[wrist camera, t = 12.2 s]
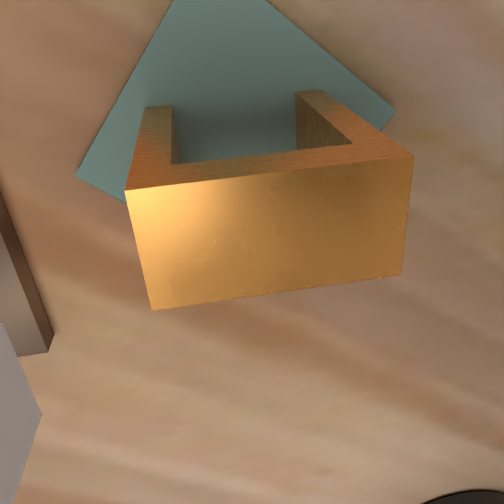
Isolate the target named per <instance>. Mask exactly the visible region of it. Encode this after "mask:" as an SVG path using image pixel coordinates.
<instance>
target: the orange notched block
mask: <svg viewBox="0 0 504 504" xmlns="http://www.w3.org/2000/svg"><path fill="white" fill-rule="evenodd" d="M295 109H296V150H294V151H286V152H277V153H269V154H260V155H252V156H243V157H235V158H226V159H218V160H209V161H201V162H192V163H184V164H181V161H180V154H179V148H178V141H177V135H176V129H175V122H174V116H173V110H172V105H165V106H156V107H146V108H144V112H143V116H142V120H141V124H140V128H139V132H138V137H137V141H136V145H135V149H134V153H133V157H132V161H131V165H130V169H129V173H128V178H127V182H126V186H125V190H124V192H125V196H126V200H127V205H128V209H129V213H130V218H131V222H132V227H133V231H134V235H135V240H136V244H137V248H138V253H139V257H140V261H141V266H142V270H143V274H144V279H145V283H146V288H147V292H148V296H149V301H150V305H151V309H152V311H155V310H161V309H168V308H175V307H182V306H189V305H196V304H203V303H210V302H217V301H224V300H231V299H238V298H244V297H251V296H258V295H265V294H272V293H279V292H286V291H293V290H300V289H307V288H314V287H320V286H327V285H334V284H341V283H348V282H355V281H362V280H369V279H376V278H383V277H390V276H396V275H401V269H402V260H403V251H404V242H405V233H406V224H407V215H408V206H409V197H410V188H411V179H412V170H413V161H414V155H413V154H411V153H410V152H408V151H407V150H406V149H404V148H403V147H401V146H400V145H399V144H397V143H396V142H394V141H393V140H392V139H390V138H389V137H387V136H386V135H385V134H383V133H382V132H380V131H379V130H378V129H376V128H375V127H373V126H372V125H371V124H369V123H368V122H366V121H365V120H364V119H362V118H361V117H359V116H358V115H357V114H355V113H354V112H352V111H351V110H350V109H348V108H347V107H345V106H344V105H343V104H341V103H340V102H338V101H337V100H336V99H334V98H333V97H331V96H330V95H329V94H327V93H326V92H324V91H323V90H322V89H316V90H306V91H297V92H295Z"/></svg>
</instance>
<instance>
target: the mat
mask: <svg viewBox="0 0 504 504" xmlns="http://www.w3.org/2000/svg"><path fill="white" fill-rule="evenodd" d="M316 89H322V90H323V91H324V92H326V93H327V94H329V95H330V96H331V97H333V98H334V99H336V100H337V101H338V102H340V103H341V104H343V105H344V106H345V107H347V108H348V109H350V110H351V111H352V112H354V113H355V114H357V115H358V116H359V117H361V118H362V119H364V120H365V121H366V122H368V123H369V124H371V125H372V126H373V127H375V128H376V129H378V130H379V131H380V130H381V129H382V128H383V127H384V125H385V124H386V123H387V122H388V121H389V119H390V118H391V117H392V116H393V114H394V113H395V112H396V111H397V110H396V109H394V108H393V107H392V106H391V105H390V104H389V103H387V102H386V101H385V100H384V99H383V98H381V97H380V96H379V95H378V94H377V93H375V92H374V91H373V90H372V89H371V88H369V87H368V86H367V85H366V84H365V83H363V82H362V81H361V80H360V79H359V78H358V77H356V76H355V75H354V74H353V73H352V72H350V71H349V70H348V69H347V68H346V67H344V66H343V65H342V64H341V63H340V62H338V61H337V60H336V59H335V58H334V57H333V56H331V55H330V54H329V53H328V52H327V51H325V50H324V49H323V48H322V47H321V46H319V45H318V44H317V43H316V42H315V41H313V40H312V39H311V38H310V37H309V36H308V35H306V34H305V33H304V32H303V31H302V30H300V29H299V28H298V27H297V26H296V25H294V24H293V23H292V22H291V21H290V20H288V19H287V18H286V17H285V16H284V15H282V14H281V13H280V12H279V11H278V10H277V9H275V8H274V7H273V6H272V5H271V4H269V3H268V2H267V1H266V0H173V2H172V3H171V5H170V7H169V9H168V10H167V12H166V14H165V16H164V18H163V19H162V21H161V23H160V25H159V26H158V28H157V30H156V32H155V33H154V35H153V37H152V39H151V41H150V42H149V44H148V46H147V48H146V49H145V51H144V53H143V55H142V56H141V58H140V60H139V62H138V64H137V65H136V67H135V69H134V71H133V72H132V74H131V76H130V78H129V79H128V81H127V83H126V85H125V87H124V88H123V90H122V92H121V94H120V95H119V97H118V99H117V101H116V103H115V104H114V106H113V108H112V110H111V111H110V113H109V115H108V117H107V118H106V120H105V122H104V124H103V126H102V127H101V129H100V131H99V133H98V134H97V136H96V138H95V140H94V141H93V143H92V145H91V147H90V149H89V150H88V152H87V154H86V156H85V157H84V159H83V161H82V163H81V164H80V166H79V168H78V170H77V172H76V174H75V176H76V177H78V178H79V179H81V180H83V181H85V182H87V183H89V184H91V185H92V186H94V187H96V188H98V189H100V190H102V191H104V192H105V193H107V194H109V195H111V196H113V197H115V198H117V199H118V200H120V201H122V202H124V203H126V204H127V200H126V196H125V192H124V190H125V186H126V182H127V178H128V173H129V169H130V165H131V161H132V157H133V153H134V149H135V145H136V141H137V137H138V132H139V128H140V124H141V120H142V116H143V112H144V108H146V107H156V106H165V105H172V110H173V116H174V122H175V129H176V135H177V141H178V148H179V154H180V161H181V164H184V163H192V162H201V161H209V160H218V159H226V158H235V157H243V156H252V155H260V154H269V153H277V152H286V151H294V150H296V109H295V92H297V91H306V90H316Z"/></svg>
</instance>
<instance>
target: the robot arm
mask: <svg viewBox="0 0 504 504" xmlns="http://www.w3.org/2000/svg"><path fill="white" fill-rule="evenodd" d="M41 415H42V414H41V411H40V409H39V407H38V404H37V402H36V400H35V397H34V395H33V393H32V390H31V388H30V386H29V383H28V381H27V379H26V376H25V374H24V372H23V369H22V367H21V365H20V362H19V360H18V358H17V355H16V353H15V351H14V348H13V346H12V344H11V341H10V339H9V337H8V334H7V332H6V330H5V327H4V325H3V323H0V504H13V501H14V498H15V494H16V491H17V488H18V485H19V482H20V479H21V476H22V473H23V470H24V467H25V464H26V461H27V458H28V455H29V452H30V449H31V446H32V443H33V439H34V436H35V433H36V430H37V427H38V424H39V421H40V418H41ZM428 504H504V494H501V493H496V492H486V491H479V492H467V493H461V494H456V495H452V496H448V497H445V498H442V499H439V500H436V501H433V502H431V503H428Z"/></svg>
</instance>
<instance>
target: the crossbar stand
mask: <svg viewBox="0 0 504 504" xmlns="http://www.w3.org/2000/svg"><path fill="white" fill-rule="evenodd" d="M0 323H3V325H4V327H5V330H6V332H7V334H8V337H9V339H10V341H11V344H12V346H13V348H14V351H15V353H16V355H17V357H20V356H27V355H33V354H40V353H47V352H48V351H49V348H50V345H51V342H52V339H53V336H54V333H53V330H52V328H51V325H50V322H49V320H48V317H47V314H46V312H45V309H44V307H43V304H42V301H41V299H40V296H39V293H38V291H37V288H36V285H35V283H34V280H33V277H32V275H31V272H30V270H29V267H28V264H27V262H26V259H25V256H24V254H23V251H22V248H21V246H20V243H19V240H18V238H17V235H16V233H15V230H14V227H13V225H12V222H11V219H10V217H9V214H8V211H7V209H6V206H5V203H4V201H3V198H2V195H1V193H0Z"/></svg>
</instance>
